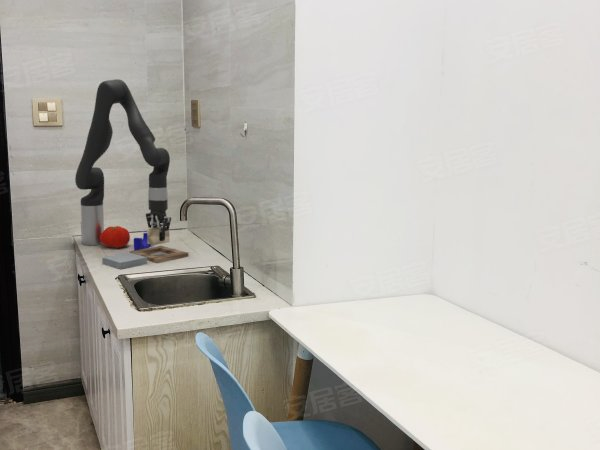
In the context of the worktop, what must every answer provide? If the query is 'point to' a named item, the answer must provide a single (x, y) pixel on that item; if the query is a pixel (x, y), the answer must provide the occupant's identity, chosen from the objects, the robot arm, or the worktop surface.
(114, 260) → the plinth
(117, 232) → the tomato
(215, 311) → the worktop surface
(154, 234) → the ash block
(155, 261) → the board
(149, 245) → the cable clip
